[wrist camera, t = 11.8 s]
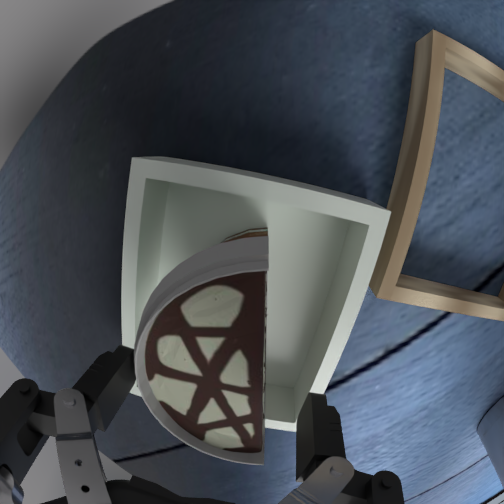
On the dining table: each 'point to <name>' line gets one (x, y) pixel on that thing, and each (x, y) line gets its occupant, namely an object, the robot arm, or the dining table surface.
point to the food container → (210, 349)
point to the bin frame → (416, 174)
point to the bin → (280, 260)
